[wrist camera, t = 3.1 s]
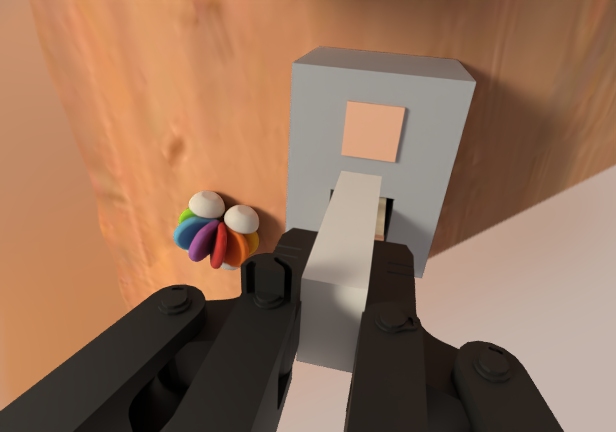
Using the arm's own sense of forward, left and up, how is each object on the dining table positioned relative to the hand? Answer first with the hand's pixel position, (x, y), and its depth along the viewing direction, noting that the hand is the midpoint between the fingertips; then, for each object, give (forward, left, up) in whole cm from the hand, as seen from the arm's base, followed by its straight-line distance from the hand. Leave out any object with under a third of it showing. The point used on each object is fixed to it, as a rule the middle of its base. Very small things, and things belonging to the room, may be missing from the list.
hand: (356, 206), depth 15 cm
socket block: (0, -5, -24) cm, 25 cm away
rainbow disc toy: (-16, -18, -24) cm, 34 cm away
